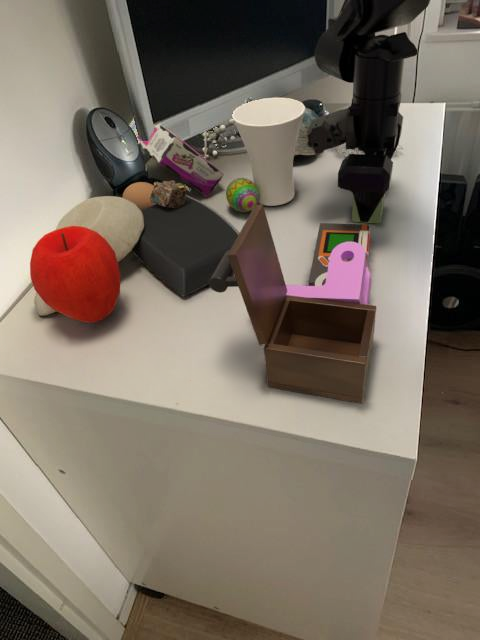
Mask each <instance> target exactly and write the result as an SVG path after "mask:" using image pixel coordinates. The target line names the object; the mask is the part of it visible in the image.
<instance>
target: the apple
mask: <svg viewBox="0 0 480 640" xmlns="http://www.w3.org/2000/svg"><path fill="white" fill-rule="evenodd" d="M30 256H31V257H30V261H29V274H30V280H31V283H32V286H33V289H34V291H35V293H36V292H37V293H38V295H39V296H40V297H41V299H42V300H43V301H44V302H45V303H46V304H47V305H48V306H49V307H51V308H52V309H53V310H55V311H56V312H58V313H60V314H62V315H64V316H67V317H69V318H70V319H73V320H75V321H79V322H83V323H89V324H90V323H92V324H93V323H98V322H99V321H102V320H104V319H105V318H107V317H108V316H109V315H110V314H111V313H112V312H113V311H114V309H115V306H116V304H117V301H118V298H119V295H120V293H121V270H120V266H119V262H117V258H116V254H115V251H114V250H113V249H112V247H111V246H110V245H109V243H108V242H107V241H106V240H105V239H104V238H103V237H102V236H101V235H100V234H98V233H97V232H95V231H93V230H91V229H88V228H86V227H80V226H69V227H64V228H61V229H58V230H56V229H54V230H52V231H50V232H48V233H46V234H44V235H43V236H42V237H41V238H40V239H38V241H36V244H35V245H34V247H33V248H32V250H31V255H30Z"/></svg>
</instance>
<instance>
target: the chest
mask: <svg viewBox="0 0 480 640" xmlns="http://www.w3.org/2000/svg"><path fill="white" fill-rule="evenodd" d="M376 317H377V305H372V304H368V305H365V304H357V303H348V302H340V301H332V300H323V299H315V298H307V297H298V296H290V295H286V296H285V299H284V301H283V304H282V306H281V309H280V312H279V314H278V317H277V319H276V322H275V325H274V327H273V330H272V332H271V335H270V338H269V340H268V343H267V345H264V346H263V354H264V355H263V356H264V362H265V372H266V382H267V387H268V388H273V389H279V390H284V391H290V392H296V393H301V394H307V395H312V396H318V397H322V398H323V397H324V398H329V399H333V400H334V399H335V400H341V401H344V402H350V403H351V402H352V403H356V404H363V402H364V395H365V392H366V391H365V390H366V386H367V385H366V384H367V379H368V375H369V374H368V373H369V368H370V362H371V356H372V353H373V348H374V347H373V345H374V337H375V336H374V335H375V325H376Z"/></svg>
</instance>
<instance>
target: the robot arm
mask: <svg viewBox="0 0 480 640" xmlns="http://www.w3.org/2000/svg"><path fill="white" fill-rule="evenodd" d="M430 3H431V0H344V1H343V4H342V5H341V8H340V11H339V12H338V16H334V17H329V18H328V20H327V29H325V31H324V32H323V33H322V34H321V35H320V37H319V39H318V40H317V43H316V47H315V49H314V61H315V64H316V66H317V67H318V69H319V70H320V71H321V72H323V73H326V74H327V75H330V76H332V77H335V78H337V79H339V80H341V81H343V82H346V83H349V84H352V99H351V104H350V105H349V106H348V107H347V108H342V109H339V110H336V111H333V112H330V113H328V114H325V115H322V116H319V118H317V119H315V120H313V121H312V122H311V124H310V126H309V128H308V130H307V137H308V143H307V145H308V147H310V148H312V147H313V150H314V152H315V155H318V154H319V155H320V154H322V153H324V152H325V151H327V150H330V149H332V148H333V149H334V147H336V146H337V147H338V146H342V145H343V144H344V143H345V146H346V147H345V150H346V149H347V150H350V149H354V150H356V148H357V151H358V150H359V152H360V151H361V152H362V151H363V152H364V153H365V154H364V153H361V154H360V153H358V154H356V153H353V154H352V153H349V154H350V155H349V154H347V157H346V156H345V157H346V158H345V157H344V159H343V160H342V161H341V163H340V167H339V169H338V171H337V187H338V188H339V189H341V190H344V191H348V192H351V194H352V196H354V199H355V203H356V207H357V211H358V215H359V219H360V221H361V222H360V223H363V222H368V221H369V220H370V218H371V216H372V215H373V213H374V211H375V209H376V208H377V206H378V204H379V203H380V201H381V199H382V198H383V196H384V194H385V195H386V193H387V192H388V191H389V190H390V186H391V181H392V175H393V167H394V162H393V160H392V158H393V157H394V154H395V153H396V151H397V150H396V149H398V147H399V146H398V145H400V139H401V135H402V130H403V123H404V116H403V115H402V114H401V113H400V106H401V103H402V95H403V94H402V82H403V75H404V74H403V73H404V64H405V59H409V58H412V57H416V56H417V55H418V48H417V47H416V45H415V44H414V42H413V41H411V40H410V38H409V36H408V34H407V32H406V31H403V32H399V33H395V34H390V35H387V34H377V33H380V32H385V31H388V30H389V31H390V30H392V29H396V28H399V27H403V26H406V25H409V24H411V23H412V22H413V21H414V20H416V18H417V17H419V16H420V15H421V14H422V12H424V11H425V10H426V9H427V8H428V7H429V5H430ZM337 147H336V148H337ZM395 150H396V151H395ZM394 152H395V153H394Z"/></svg>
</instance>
